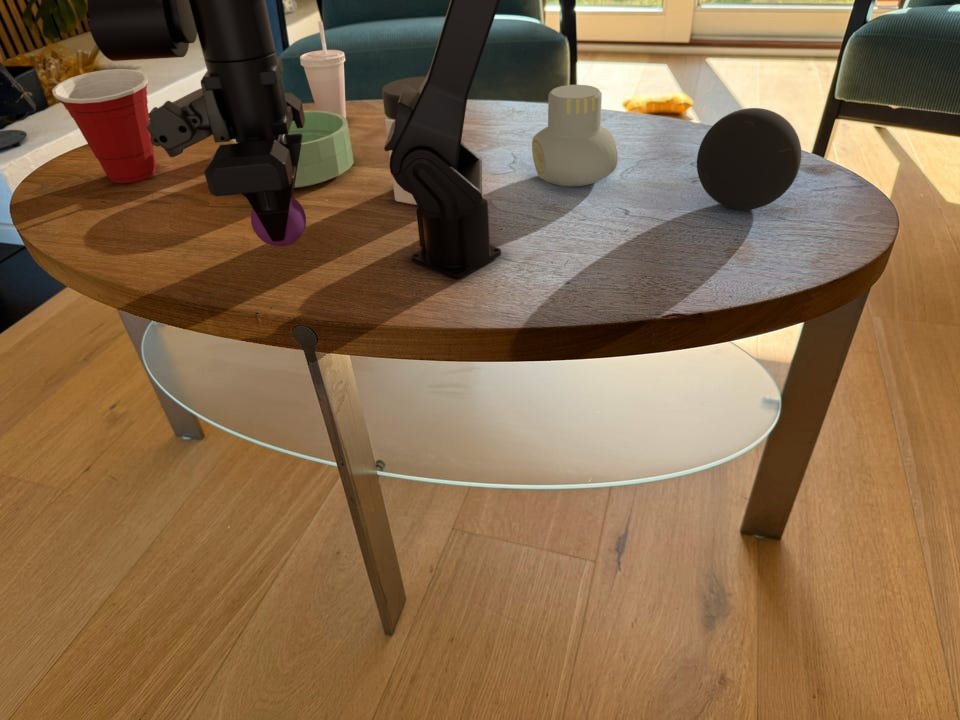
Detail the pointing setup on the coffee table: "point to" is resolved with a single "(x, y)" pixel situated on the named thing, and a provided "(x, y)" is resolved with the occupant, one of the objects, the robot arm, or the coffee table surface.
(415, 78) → the jar
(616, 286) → the coffee table surface
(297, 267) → the coffee table surface
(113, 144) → the plastic cup
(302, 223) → the ball
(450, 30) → the robot arm
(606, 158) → the air freshener
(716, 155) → the speaker
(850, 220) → the coffee table surface
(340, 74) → the smoothie
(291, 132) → the bowl
